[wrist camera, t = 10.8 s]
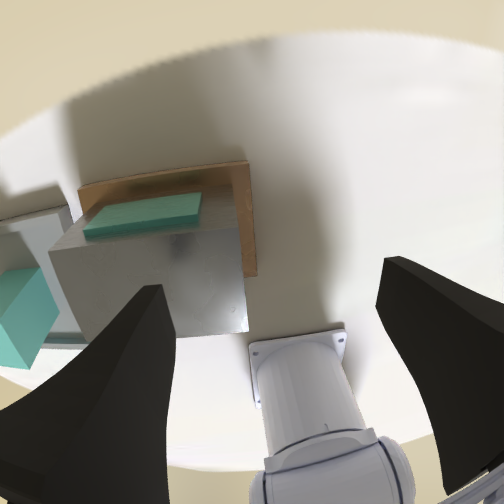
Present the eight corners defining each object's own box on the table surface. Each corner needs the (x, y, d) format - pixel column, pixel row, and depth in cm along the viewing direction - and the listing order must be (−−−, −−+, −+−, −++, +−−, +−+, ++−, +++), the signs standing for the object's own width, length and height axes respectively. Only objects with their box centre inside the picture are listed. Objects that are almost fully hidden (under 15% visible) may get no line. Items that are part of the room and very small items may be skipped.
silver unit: (255, 267, 20) (272, 344, 14) (111, 282, 19) (78, 355, 13) (247, 160, 17) (265, 197, 10) (83, 185, 16) (23, 232, 10)
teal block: (59, 312, 19) (29, 369, 14) (24, 313, 19) (-7, 364, 14) (40, 266, 17) (-1, 320, 12) (5, 271, 17) (-36, 319, 12)
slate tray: (114, 336, 22) (110, 349, 20) (18, 336, 21) (12, 346, 20) (68, 204, 16) (57, 212, 15) (-30, 229, 16) (-41, 237, 14)
